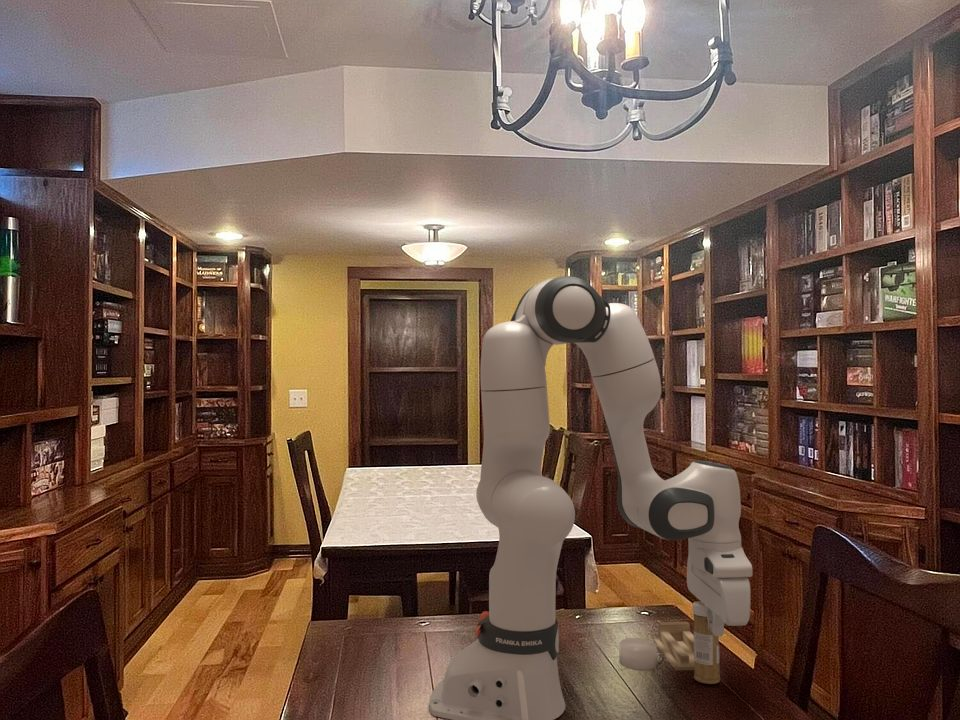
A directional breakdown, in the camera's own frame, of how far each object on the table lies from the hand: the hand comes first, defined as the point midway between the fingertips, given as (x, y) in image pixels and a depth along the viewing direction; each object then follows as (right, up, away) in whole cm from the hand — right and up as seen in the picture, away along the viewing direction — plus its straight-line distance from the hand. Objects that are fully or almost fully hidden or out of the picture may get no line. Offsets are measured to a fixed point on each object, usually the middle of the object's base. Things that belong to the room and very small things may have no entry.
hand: (715, 633), depth 126 cm
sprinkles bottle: (-1, -10, +3) cm, 10 cm away
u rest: (-1, -10, +15) cm, 18 cm away
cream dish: (-11, -10, +12) cm, 19 cm away
